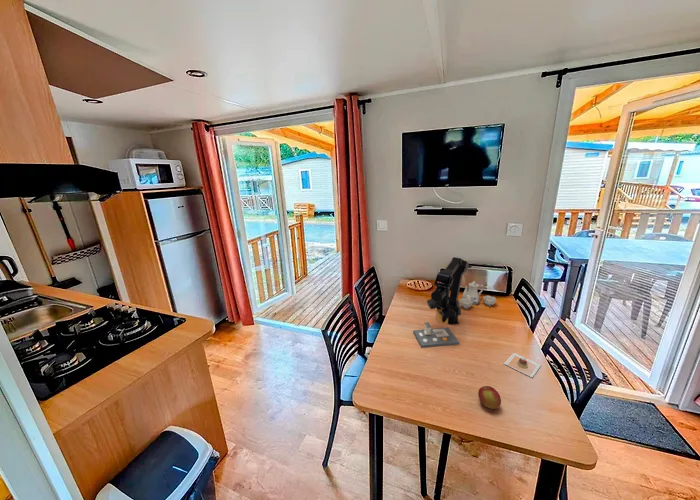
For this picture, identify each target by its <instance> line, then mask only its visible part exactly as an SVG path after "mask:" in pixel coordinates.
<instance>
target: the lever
mask: <svg viewBox="0 0 700 500" xmlns="http://www.w3.org/2000/svg"><path fill="white" fill-rule="evenodd" d="M423 327H424V328H423V329H424V333H425V335H431V333H430V331H431V329H432V326H431V324H430V323H429V322H428V321H426V322H424V326H423Z"/></svg>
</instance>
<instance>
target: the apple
mask: <svg viewBox="0 0 700 500" xmlns="http://www.w3.org/2000/svg"><path fill="white" fill-rule="evenodd" d="M477 394H478V395H477V396H478V399H479V401H480V403H481V404H482V405H483V406H484V407H486V408H488V409H494V410H495V409H498V408H500V406H501V404H502V399H501V396H500V393H499V392H498V391H497V390H496V388H494V387H492V386H490V385H486V386H481V387H480V388H479V389H478V393H477Z"/></svg>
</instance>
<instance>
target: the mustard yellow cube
mask: <svg viewBox="0 0 700 500" xmlns="http://www.w3.org/2000/svg"><path fill="white" fill-rule="evenodd" d="M441 310H442V309H440V310H437V309H436V310H435V317H434V318H435V321H436V322H437V323H438V324H439V325H440V324H441V325H444V324H448V318H447V320H446V321H445V322H443V321H442V315H441V313H440V312H441Z"/></svg>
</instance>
